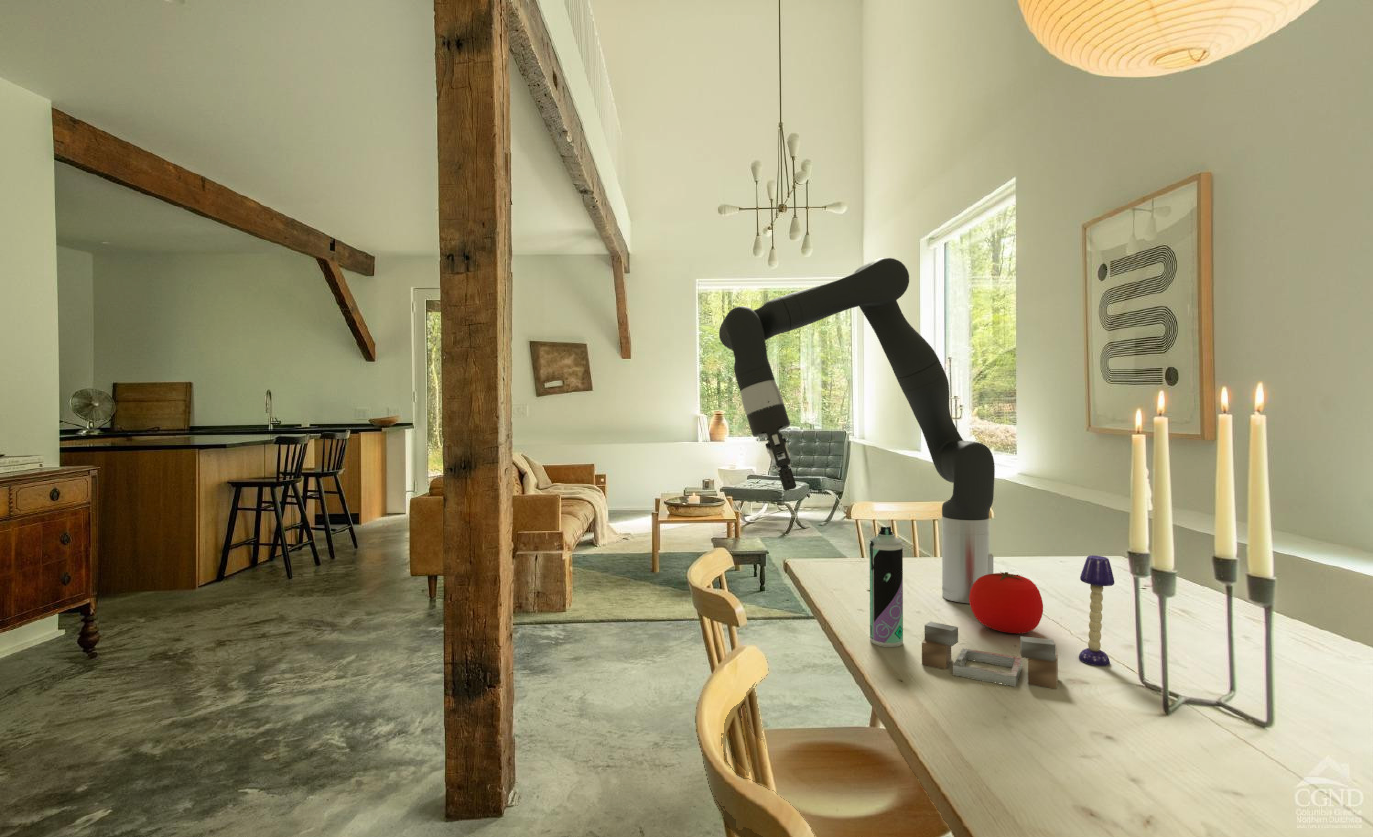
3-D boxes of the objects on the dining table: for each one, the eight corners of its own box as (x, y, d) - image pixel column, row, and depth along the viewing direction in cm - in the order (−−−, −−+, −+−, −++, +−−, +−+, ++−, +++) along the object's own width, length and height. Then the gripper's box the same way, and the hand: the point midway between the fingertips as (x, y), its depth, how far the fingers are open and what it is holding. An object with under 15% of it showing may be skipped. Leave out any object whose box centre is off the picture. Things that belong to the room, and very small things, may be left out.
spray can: (885, 649, 115) (885, 530, 115) (863, 639, 120) (862, 525, 119) (909, 644, 117) (909, 527, 117) (886, 634, 122) (886, 522, 122)
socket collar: (952, 675, 103) (952, 665, 103) (963, 657, 111) (963, 648, 111) (1015, 687, 99) (1015, 676, 99) (1022, 667, 106) (1022, 658, 106)
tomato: (1051, 629, 124) (1051, 572, 124) (1031, 646, 116) (1031, 584, 116) (984, 616, 133) (983, 562, 132) (960, 631, 124) (960, 573, 124)
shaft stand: (921, 664, 108) (921, 627, 108) (928, 656, 112) (927, 620, 112) (1055, 689, 98) (1055, 648, 98) (1057, 678, 102) (1057, 639, 102)
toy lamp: (1110, 658, 110) (1110, 554, 110) (1117, 669, 105) (1117, 560, 105) (1076, 655, 111) (1076, 552, 111) (1082, 665, 107) (1082, 558, 107)
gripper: (784, 397, 125) (812, 483, 122) (782, 407, 139) (807, 484, 136) (744, 409, 125) (771, 495, 123) (747, 418, 139) (771, 495, 137)
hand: (790, 489), depth 130 cm, fingers open, 8 cm apart
